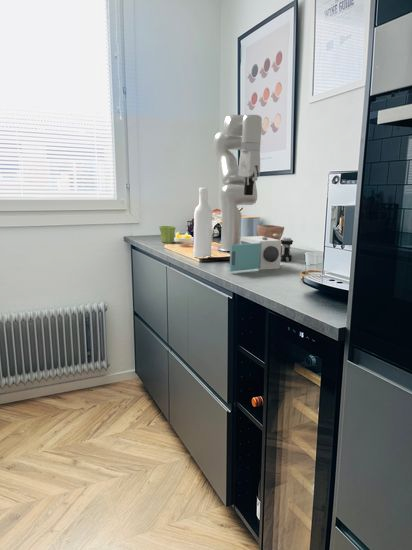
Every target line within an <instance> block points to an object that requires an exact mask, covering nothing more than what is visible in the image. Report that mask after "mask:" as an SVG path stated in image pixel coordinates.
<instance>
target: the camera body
mask: <svg viewBox="0 0 412 550" xmlns="http://www.w3.org/2000/svg"><path fill="white" fill-rule="evenodd" d="M281 240H282V239H280V240H277V239H273V238H268V237H263V236H259V235H255V236H254V235H253V236H252V235H251V236H241V239H240V244H253V243H261V263H260V268H259V269H256V270H257V271H262V270H275V269H280V268H281V267H280V266H281V265H280V264H281V261H280V254H281V246H282V244H281Z"/></svg>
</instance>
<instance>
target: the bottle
mask: <svg viewBox="0 0 412 550" xmlns="http://www.w3.org/2000/svg"><path fill="white" fill-rule="evenodd" d="M198 193H199V195H198V197H199V198H198V205H197V206H196V207H195V209H194V212H193V253H192V254H193V257H194V256H196V257H206V256H211V257H212V236H213V235H212V233H213V230H212V229H213V228H212V226H213V211H212V208H211V207H210V205H209V204H208V200H209V199H208V196H209V189H208V187H199V189H198Z"/></svg>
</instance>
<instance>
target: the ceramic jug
mask: <svg viewBox="0 0 412 550" xmlns="http://www.w3.org/2000/svg"><path fill="white" fill-rule="evenodd" d="M256 230H257V234H258V235H257V236H263V237H268V238H273V239H277V240H282V238H283V237H282V236H283V234H284V230H285V226H280V225H273V224H258V225H256ZM280 255H282V245H281V254H280Z"/></svg>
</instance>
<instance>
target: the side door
mask: <svg viewBox="0 0 412 550" xmlns="http://www.w3.org/2000/svg"><path fill="white" fill-rule="evenodd" d="M260 263H261V243H253V244H237V245H231V248H230V252H229V272H239V271H247V270H257V269H259V268H260Z"/></svg>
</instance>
